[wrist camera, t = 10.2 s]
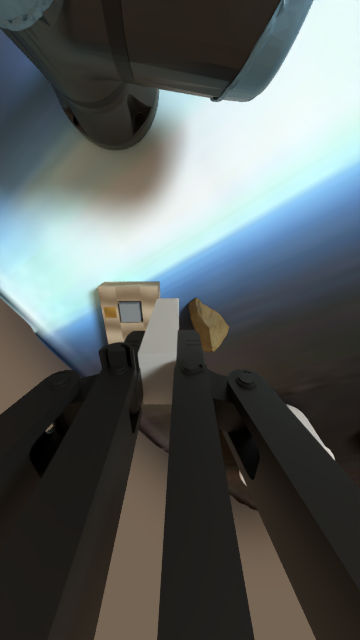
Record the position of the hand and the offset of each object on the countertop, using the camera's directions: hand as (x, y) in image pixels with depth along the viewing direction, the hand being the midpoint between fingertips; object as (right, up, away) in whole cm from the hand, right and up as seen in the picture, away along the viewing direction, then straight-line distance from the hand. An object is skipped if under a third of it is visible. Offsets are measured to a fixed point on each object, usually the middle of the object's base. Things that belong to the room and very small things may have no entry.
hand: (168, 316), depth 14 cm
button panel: (-9, -5, +35) cm, 37 cm away
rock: (+7, +1, +32) cm, 33 cm away
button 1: (-10, +3, +30) cm, 32 cm away
